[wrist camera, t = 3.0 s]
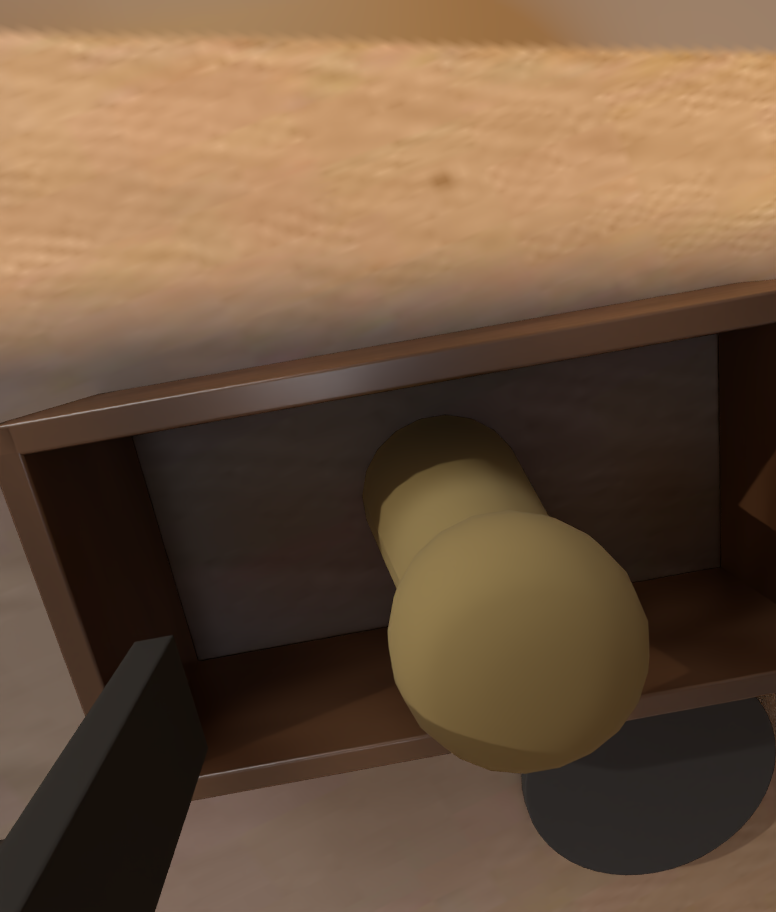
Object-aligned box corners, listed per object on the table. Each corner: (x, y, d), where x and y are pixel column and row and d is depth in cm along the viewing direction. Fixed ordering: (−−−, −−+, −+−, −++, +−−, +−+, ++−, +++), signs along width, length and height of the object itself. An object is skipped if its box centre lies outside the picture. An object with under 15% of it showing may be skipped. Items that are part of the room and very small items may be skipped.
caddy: (739, 282, 19) (909, 266, 13) (739, 580, 22) (878, 676, 16) (96, 394, 19) (-23, 429, 13) (183, 681, 22) (120, 815, 16)
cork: (547, 443, 20) (768, 587, 9) (490, 586, 21) (624, 857, 11) (391, 393, 19) (437, 488, 8) (341, 545, 20) (327, 793, 10)
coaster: (767, 633, 23) (778, 642, 22) (765, 838, 25) (774, 850, 25) (507, 681, 22) (511, 690, 22) (533, 882, 25) (538, 895, 25)
